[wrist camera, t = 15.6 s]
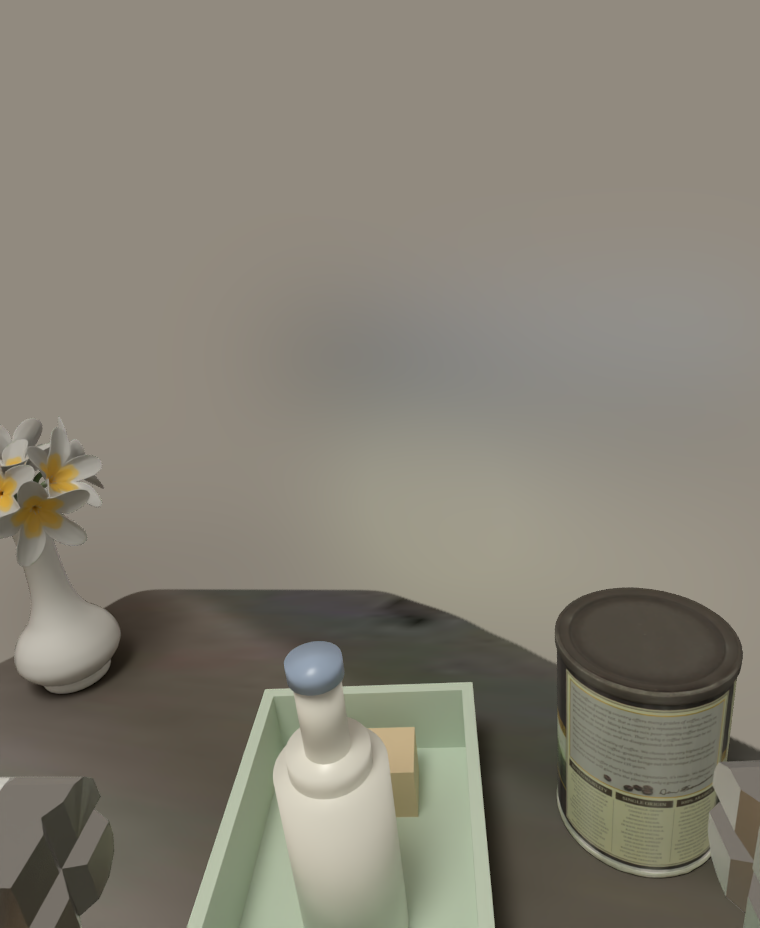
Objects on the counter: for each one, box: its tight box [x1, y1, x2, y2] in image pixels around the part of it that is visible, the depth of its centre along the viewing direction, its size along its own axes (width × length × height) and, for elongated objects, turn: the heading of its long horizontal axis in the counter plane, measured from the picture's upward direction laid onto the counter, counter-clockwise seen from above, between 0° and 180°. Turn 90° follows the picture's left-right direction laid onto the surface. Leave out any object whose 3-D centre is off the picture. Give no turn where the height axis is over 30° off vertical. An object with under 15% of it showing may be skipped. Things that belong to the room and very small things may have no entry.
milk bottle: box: [273, 641, 409, 928], centre depth 35 cm, size 6×6×19 cm
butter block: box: [368, 727, 419, 817], centre depth 46 cm, size 7×4×4 cm, turn 86°
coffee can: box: [555, 588, 743, 878], centre depth 42 cm, size 10×10×14 cm
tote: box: [187, 682, 495, 928], centre depth 40 cm, size 16×22×6 cm
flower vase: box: [0, 416, 121, 694], centre depth 59 cm, size 13×18×25 cm
